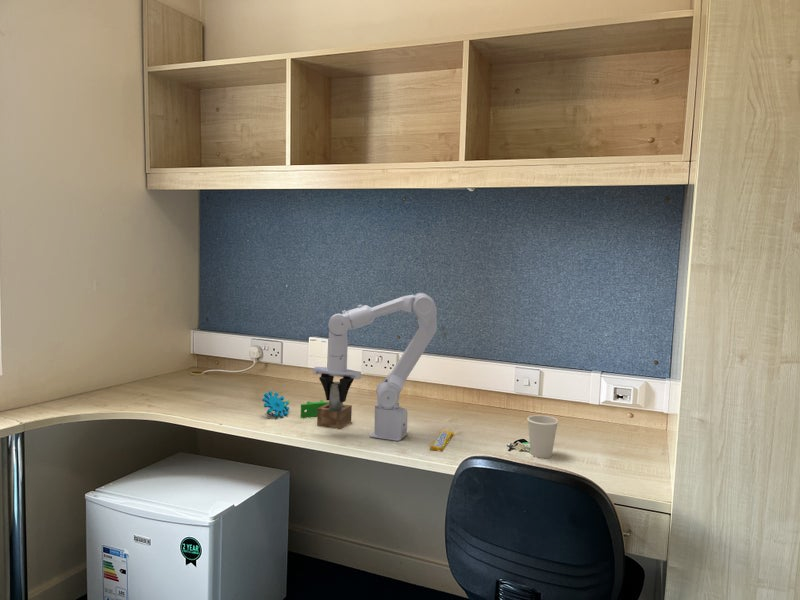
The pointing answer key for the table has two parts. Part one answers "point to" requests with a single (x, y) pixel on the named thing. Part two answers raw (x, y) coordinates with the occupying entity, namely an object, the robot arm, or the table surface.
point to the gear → (276, 404)
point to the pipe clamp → (311, 408)
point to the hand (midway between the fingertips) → (336, 400)
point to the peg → (335, 397)
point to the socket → (334, 416)
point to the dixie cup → (542, 435)
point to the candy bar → (442, 440)
